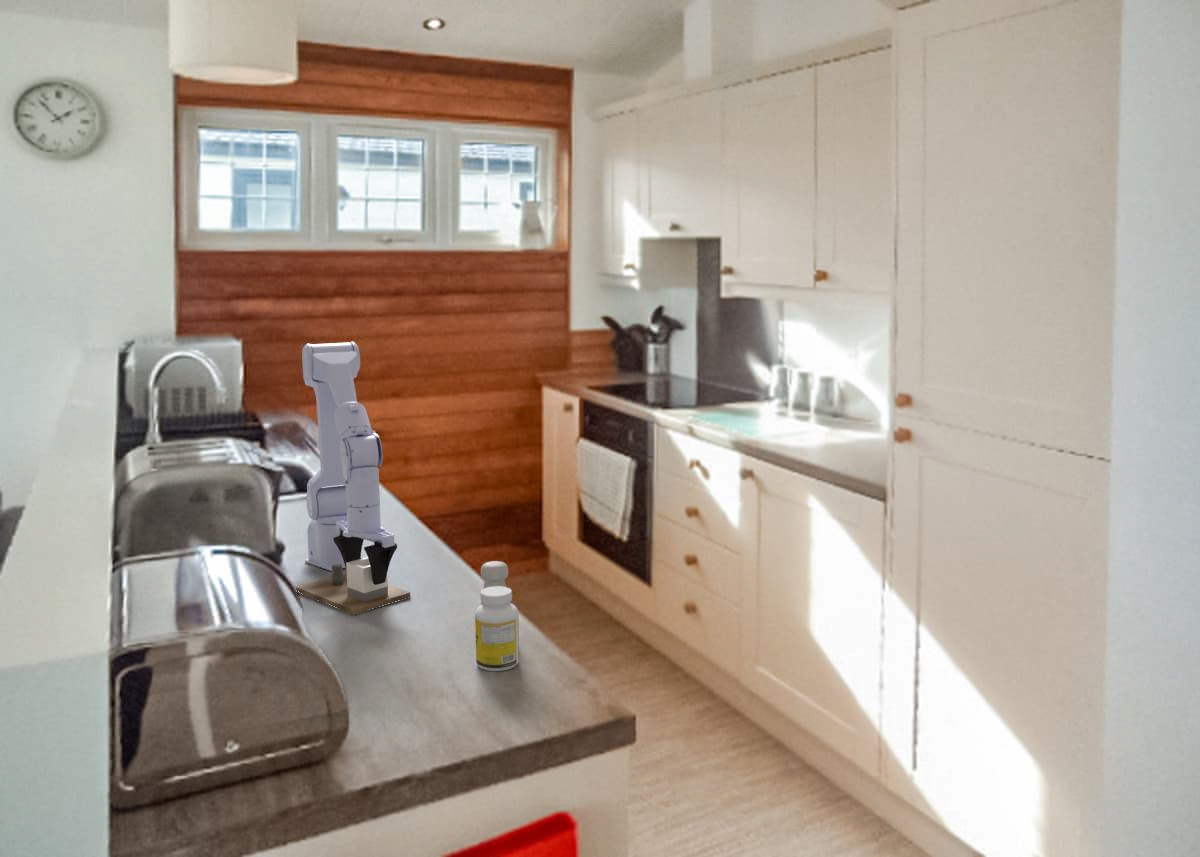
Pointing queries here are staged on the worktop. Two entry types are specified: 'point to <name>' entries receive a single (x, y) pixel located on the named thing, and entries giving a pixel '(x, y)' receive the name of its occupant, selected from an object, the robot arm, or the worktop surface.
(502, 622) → the pill bottle
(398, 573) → the worktop surface
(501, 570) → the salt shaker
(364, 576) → the sleeve
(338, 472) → the robot arm
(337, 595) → the pin board
